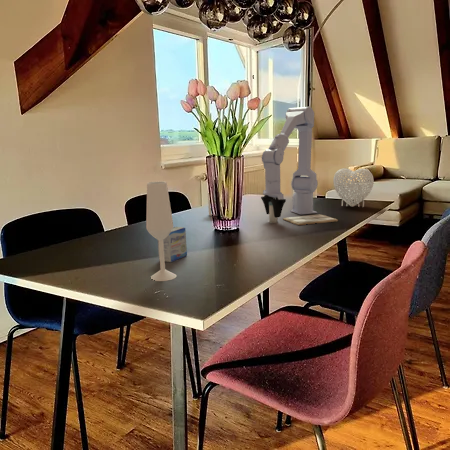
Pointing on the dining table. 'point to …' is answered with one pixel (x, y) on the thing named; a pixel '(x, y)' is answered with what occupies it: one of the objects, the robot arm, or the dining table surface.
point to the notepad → (309, 219)
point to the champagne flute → (159, 222)
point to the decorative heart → (353, 185)
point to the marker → (272, 214)
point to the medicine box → (175, 245)
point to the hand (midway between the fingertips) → (273, 215)
